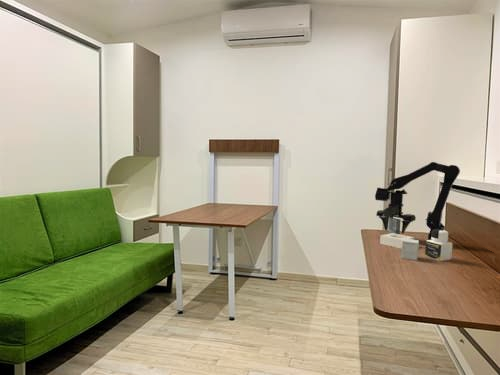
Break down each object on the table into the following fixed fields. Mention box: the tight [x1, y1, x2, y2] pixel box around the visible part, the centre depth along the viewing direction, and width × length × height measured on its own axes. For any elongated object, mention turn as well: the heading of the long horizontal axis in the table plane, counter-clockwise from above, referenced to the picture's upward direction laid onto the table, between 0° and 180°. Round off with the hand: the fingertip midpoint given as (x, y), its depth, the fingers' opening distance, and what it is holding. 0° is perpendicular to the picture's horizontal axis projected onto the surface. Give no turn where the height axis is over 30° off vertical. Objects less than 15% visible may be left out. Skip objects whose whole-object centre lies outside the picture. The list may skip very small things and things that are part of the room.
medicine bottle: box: [424, 229, 453, 262], centre depth 145 cm, size 7×7×12 cm
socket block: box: [379, 233, 415, 250], centre depth 167 cm, size 11×11×4 cm
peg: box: [387, 217, 402, 235], centre depth 182 cm, size 4×4×10 cm
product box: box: [400, 238, 420, 261], centre depth 145 cm, size 6×6×7 cm
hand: (394, 231), depth 182 cm, fingers open, 9 cm apart
